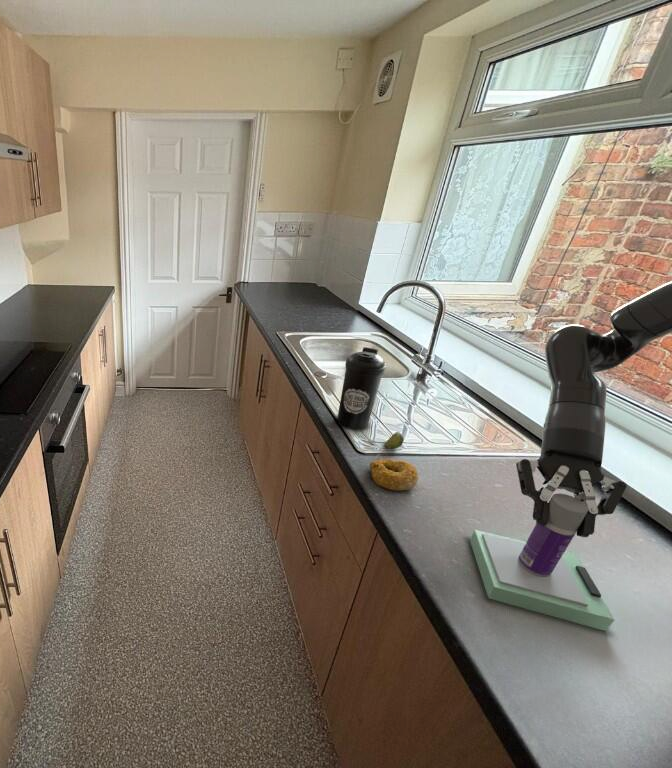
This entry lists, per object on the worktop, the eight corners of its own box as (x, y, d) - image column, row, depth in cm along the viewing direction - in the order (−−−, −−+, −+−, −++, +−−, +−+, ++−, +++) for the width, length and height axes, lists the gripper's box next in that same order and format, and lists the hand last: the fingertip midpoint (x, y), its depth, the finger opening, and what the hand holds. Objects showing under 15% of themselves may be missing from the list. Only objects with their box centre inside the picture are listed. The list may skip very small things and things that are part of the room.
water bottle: (330, 424, 124) (344, 353, 113) (338, 410, 131) (353, 342, 121) (366, 435, 119) (385, 361, 108) (373, 419, 126) (391, 349, 116)
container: (550, 582, 72) (589, 517, 65) (516, 566, 74) (550, 503, 68) (551, 564, 75) (589, 501, 68) (519, 550, 78) (552, 489, 71)
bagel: (389, 462, 107) (394, 447, 105) (425, 489, 98) (431, 473, 96) (357, 469, 105) (361, 454, 103) (391, 498, 95) (396, 482, 93)
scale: (568, 564, 79) (577, 551, 77) (606, 631, 67) (616, 617, 66) (469, 540, 84) (475, 527, 83) (488, 598, 73) (495, 584, 71)
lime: (384, 450, 112) (388, 435, 110) (381, 441, 116) (385, 426, 114) (402, 453, 111) (407, 438, 108) (399, 443, 115) (403, 428, 112)
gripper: (530, 417, 72) (516, 513, 68) (644, 439, 66) (636, 547, 62) (513, 428, 79) (500, 516, 75) (615, 449, 72) (607, 547, 68)
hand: (561, 530), depth 68 cm, fingers closed on container, 4 cm apart
